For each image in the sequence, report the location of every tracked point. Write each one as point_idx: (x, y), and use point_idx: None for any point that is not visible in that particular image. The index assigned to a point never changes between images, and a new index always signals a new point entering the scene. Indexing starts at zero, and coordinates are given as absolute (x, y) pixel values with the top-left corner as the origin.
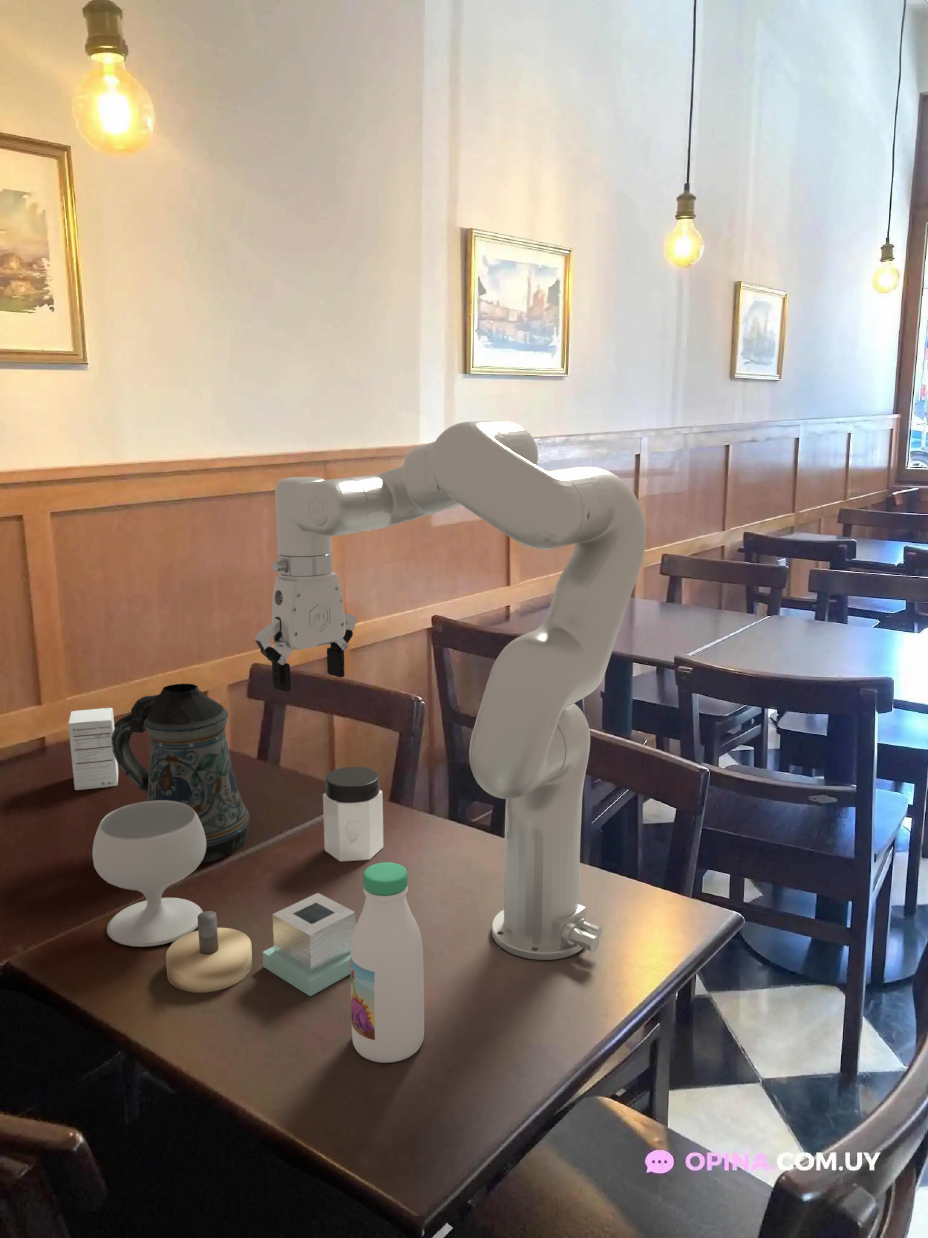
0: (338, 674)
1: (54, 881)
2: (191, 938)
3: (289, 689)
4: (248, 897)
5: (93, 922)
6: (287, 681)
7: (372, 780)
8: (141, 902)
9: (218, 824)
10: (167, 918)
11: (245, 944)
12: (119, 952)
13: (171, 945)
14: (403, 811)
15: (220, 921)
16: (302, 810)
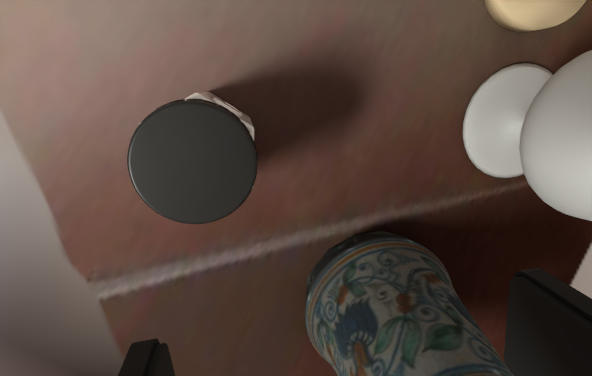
0: (165, 363)
1: None
2: (547, 13)
3: (528, 270)
4: (402, 109)
5: None
6: (579, 296)
7: (166, 113)
8: (507, 172)
9: (391, 255)
10: (520, 103)
11: None
12: None
13: (571, 15)
14: (59, 211)
15: (460, 75)
16: (204, 303)
